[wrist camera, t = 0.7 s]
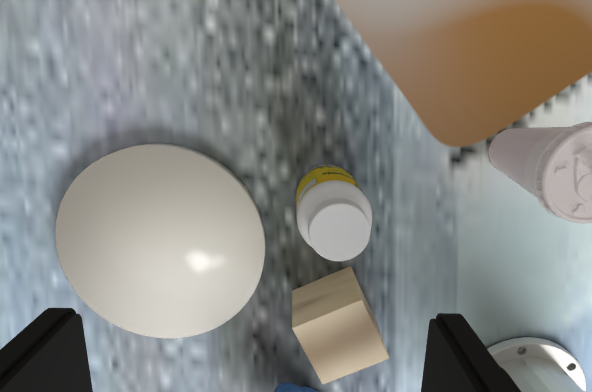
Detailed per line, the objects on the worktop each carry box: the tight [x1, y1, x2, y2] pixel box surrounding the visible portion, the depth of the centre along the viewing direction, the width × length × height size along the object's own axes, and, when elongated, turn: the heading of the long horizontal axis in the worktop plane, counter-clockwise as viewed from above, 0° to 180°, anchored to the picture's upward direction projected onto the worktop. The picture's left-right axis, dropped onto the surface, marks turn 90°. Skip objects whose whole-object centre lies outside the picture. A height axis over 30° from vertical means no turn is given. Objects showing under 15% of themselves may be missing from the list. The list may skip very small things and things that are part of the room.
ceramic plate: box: [55, 143, 266, 338], centre depth 35 cm, size 18×18×2 cm
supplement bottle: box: [296, 165, 372, 261], centre depth 29 cm, size 5×5×10 cm
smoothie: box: [488, 122, 592, 223], centre depth 27 cm, size 6×6×14 cm
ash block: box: [292, 266, 389, 384], centre depth 34 cm, size 6×6×6 cm
